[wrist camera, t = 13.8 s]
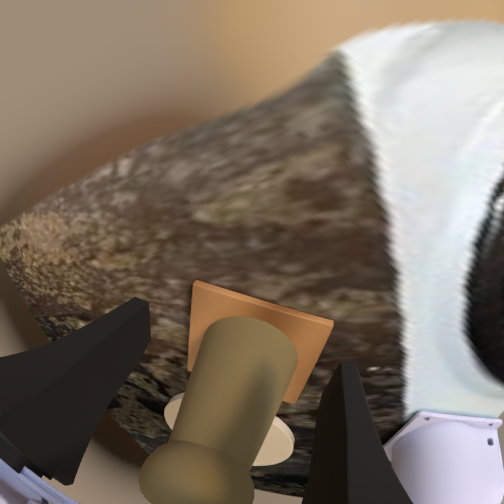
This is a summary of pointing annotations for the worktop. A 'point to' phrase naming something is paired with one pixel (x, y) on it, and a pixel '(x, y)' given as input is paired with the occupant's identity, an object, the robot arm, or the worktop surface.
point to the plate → (273, 447)
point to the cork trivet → (287, 320)
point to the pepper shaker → (222, 416)
